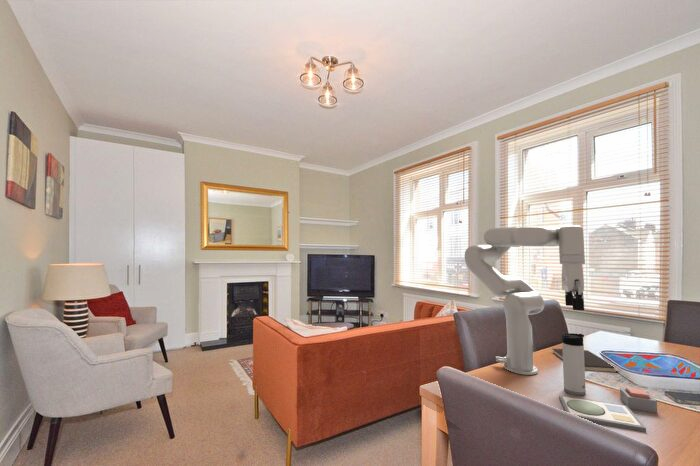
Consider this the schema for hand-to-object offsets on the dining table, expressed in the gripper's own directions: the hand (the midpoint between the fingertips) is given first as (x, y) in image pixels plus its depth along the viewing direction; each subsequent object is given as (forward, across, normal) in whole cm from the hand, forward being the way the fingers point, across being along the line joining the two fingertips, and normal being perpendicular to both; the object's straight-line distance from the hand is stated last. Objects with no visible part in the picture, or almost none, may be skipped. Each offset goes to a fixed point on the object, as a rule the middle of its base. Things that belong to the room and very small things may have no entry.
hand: (574, 307), depth 116 cm
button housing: (+29, +6, +14) cm, 33 cm away
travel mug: (+29, +1, -1) cm, 29 cm away
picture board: (+29, +16, +1) cm, 33 cm away
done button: (+27, +6, +15) cm, 31 cm away
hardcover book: (+30, -37, +10) cm, 48 cm away
